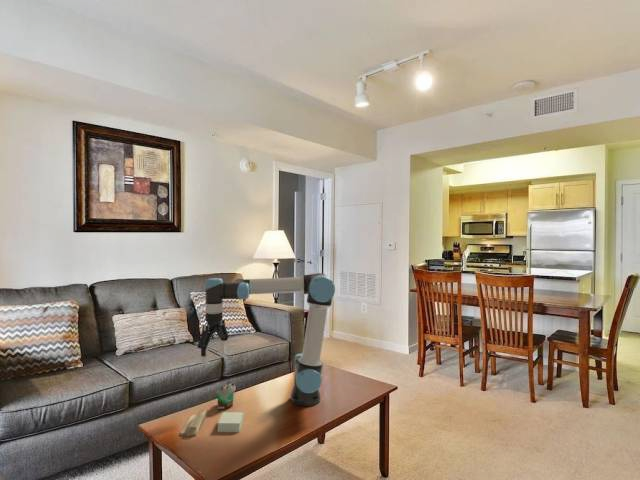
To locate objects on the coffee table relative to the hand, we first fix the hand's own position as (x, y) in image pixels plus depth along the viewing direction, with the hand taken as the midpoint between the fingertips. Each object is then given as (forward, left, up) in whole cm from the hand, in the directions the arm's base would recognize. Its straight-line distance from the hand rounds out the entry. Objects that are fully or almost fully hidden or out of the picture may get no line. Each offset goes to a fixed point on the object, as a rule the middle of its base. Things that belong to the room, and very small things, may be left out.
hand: (213, 358), depth 175 cm
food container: (-5, -8, -26) cm, 28 cm away
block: (-10, +11, -26) cm, 30 cm away
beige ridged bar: (+5, +11, -26) cm, 28 cm away
